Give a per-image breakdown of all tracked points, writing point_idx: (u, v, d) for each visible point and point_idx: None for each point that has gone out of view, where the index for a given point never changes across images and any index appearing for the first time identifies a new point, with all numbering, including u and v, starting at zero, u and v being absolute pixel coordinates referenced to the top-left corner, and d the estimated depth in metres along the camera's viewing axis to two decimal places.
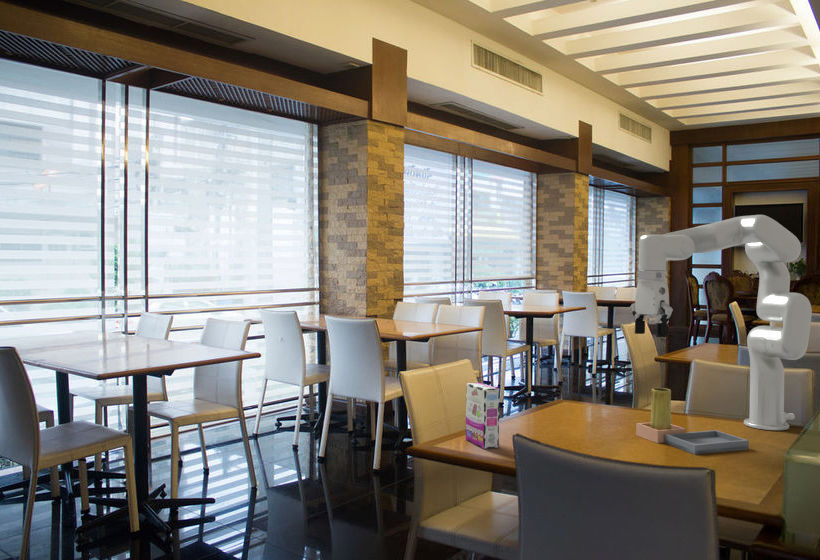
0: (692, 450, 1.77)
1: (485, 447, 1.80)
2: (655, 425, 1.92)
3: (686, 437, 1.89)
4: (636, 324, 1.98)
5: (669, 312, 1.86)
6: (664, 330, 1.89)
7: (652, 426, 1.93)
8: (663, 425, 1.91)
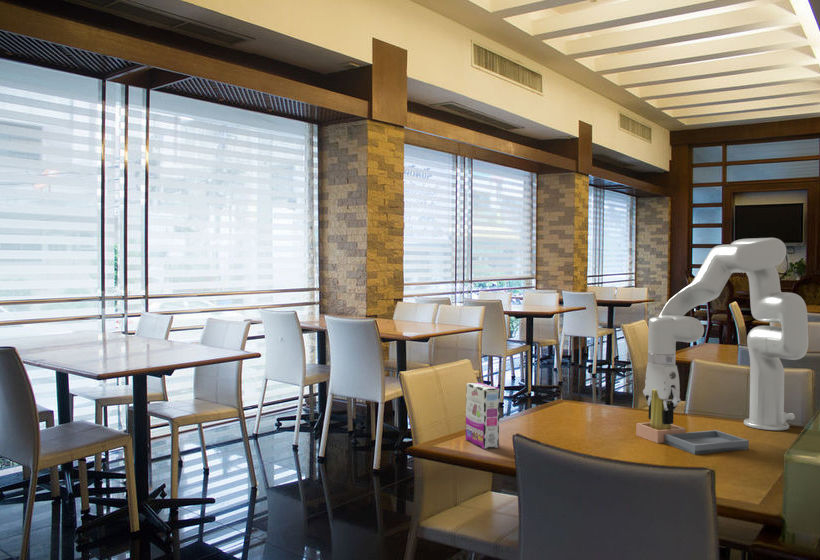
0: (692, 450, 1.77)
1: (485, 447, 1.80)
2: (655, 425, 1.92)
3: (686, 437, 1.89)
4: (650, 410, 1.96)
5: (676, 403, 1.87)
6: (671, 417, 1.90)
7: (652, 426, 1.93)
8: (663, 425, 1.91)
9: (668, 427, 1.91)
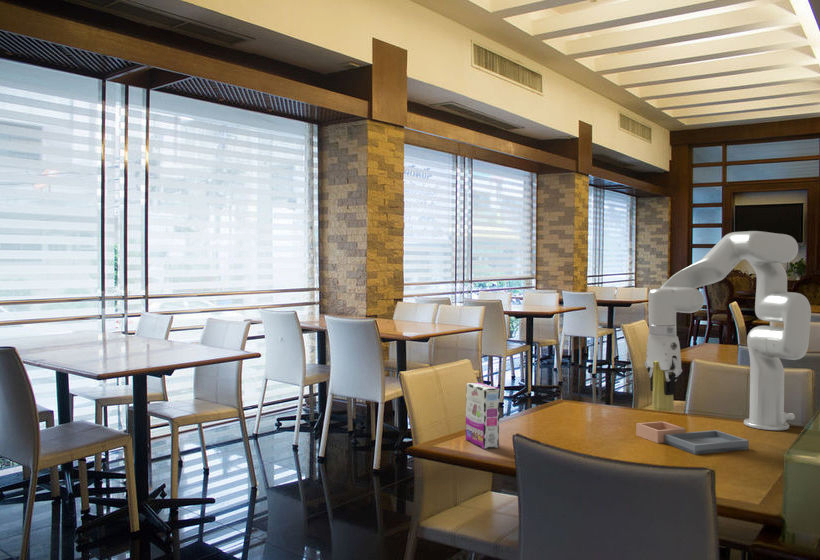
0: (692, 450, 1.77)
1: (485, 447, 1.80)
2: (657, 397, 1.92)
3: (686, 437, 1.89)
4: (652, 381, 1.96)
5: (678, 373, 1.87)
6: (673, 388, 1.90)
7: (654, 397, 1.93)
8: (665, 396, 1.91)
9: (670, 398, 1.91)
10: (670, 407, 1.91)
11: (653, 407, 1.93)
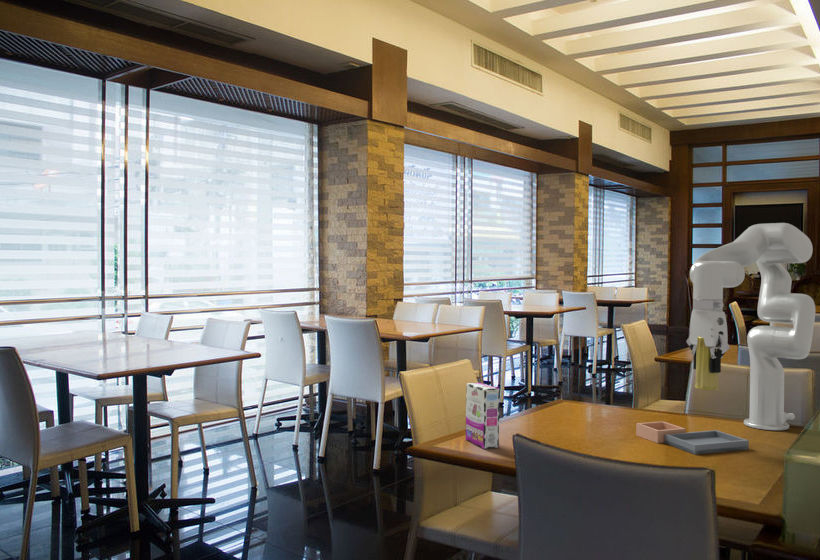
0: (692, 450, 1.77)
1: (485, 447, 1.80)
2: (701, 375, 1.83)
3: (686, 437, 1.89)
4: (695, 359, 1.87)
5: (725, 349, 1.78)
6: (718, 366, 1.81)
7: (698, 376, 1.84)
8: (709, 374, 1.82)
9: (715, 376, 1.82)
10: (715, 386, 1.82)
11: (696, 386, 1.84)
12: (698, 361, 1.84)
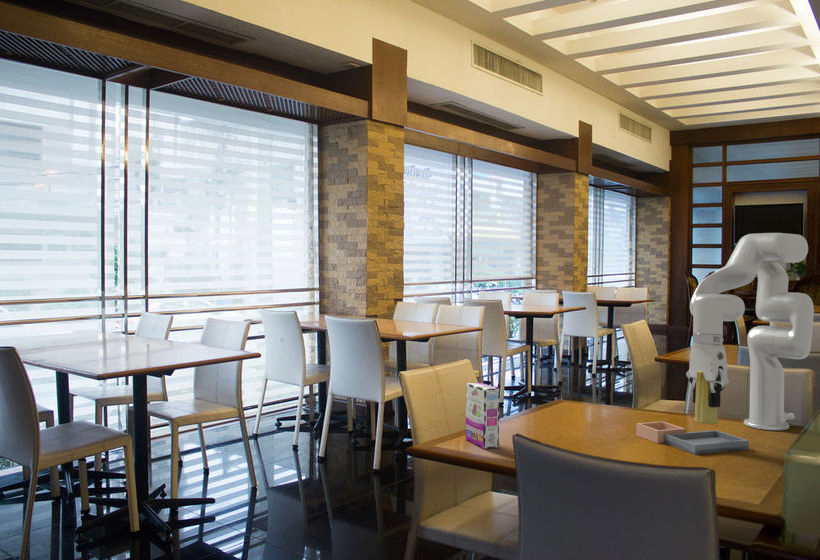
0: (692, 450, 1.77)
1: (485, 447, 1.80)
2: (701, 408, 1.83)
3: (686, 437, 1.89)
4: (694, 393, 1.87)
5: (725, 384, 1.78)
6: (718, 400, 1.81)
7: (697, 409, 1.84)
8: (709, 408, 1.82)
9: (714, 410, 1.82)
10: (714, 420, 1.82)
11: (696, 419, 1.84)
12: (698, 395, 1.84)
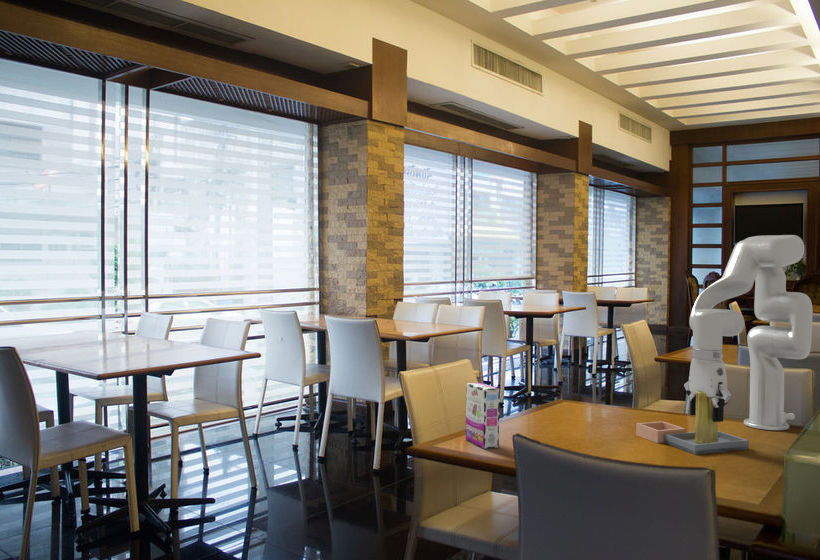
0: (692, 450, 1.77)
1: (485, 447, 1.80)
2: (701, 429, 1.83)
3: (686, 437, 1.89)
4: (691, 405, 1.88)
5: (727, 398, 1.77)
6: (721, 415, 1.80)
7: (697, 430, 1.84)
8: (709, 429, 1.82)
9: (715, 431, 1.83)
10: (714, 440, 1.82)
11: (696, 440, 1.85)
12: (697, 416, 1.84)
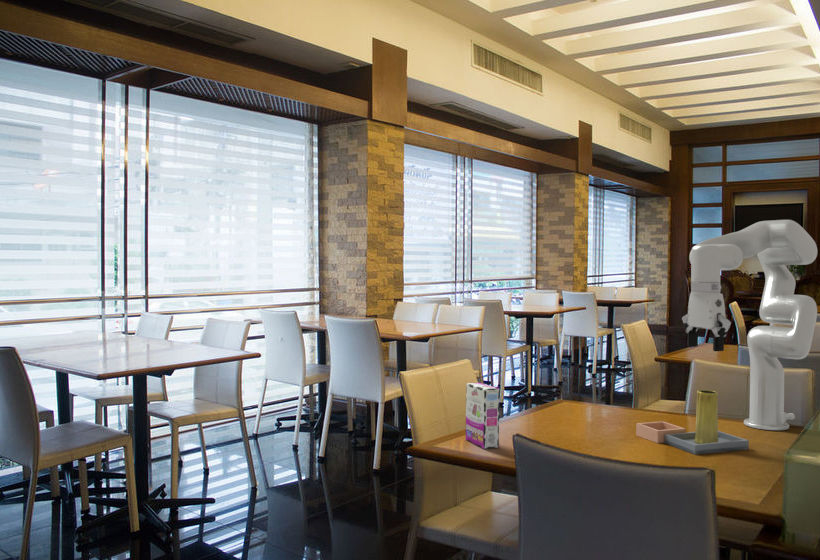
0: (692, 450, 1.77)
1: (485, 447, 1.80)
2: (701, 429, 1.83)
3: (686, 437, 1.89)
4: (689, 337, 1.92)
5: (727, 326, 1.80)
6: (721, 344, 1.82)
7: (698, 430, 1.84)
8: (710, 429, 1.82)
9: (715, 431, 1.83)
10: (715, 441, 1.83)
11: (696, 440, 1.85)
12: (698, 415, 1.84)
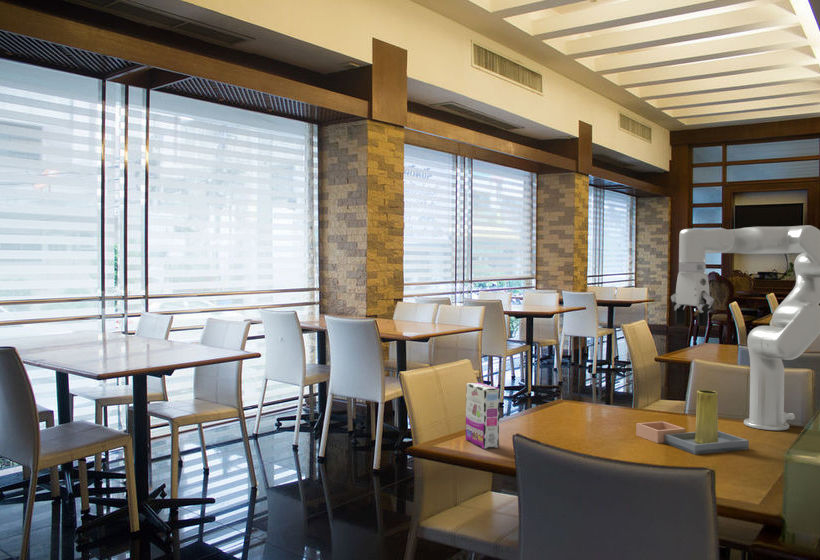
0: (692, 450, 1.77)
1: (485, 447, 1.80)
2: (701, 429, 1.83)
3: (686, 437, 1.89)
4: (677, 314, 2.09)
5: (710, 302, 1.97)
6: (705, 319, 1.99)
7: (698, 430, 1.84)
8: (709, 429, 1.82)
9: (715, 431, 1.83)
10: (715, 441, 1.83)
11: (696, 440, 1.85)
12: (698, 415, 1.84)
